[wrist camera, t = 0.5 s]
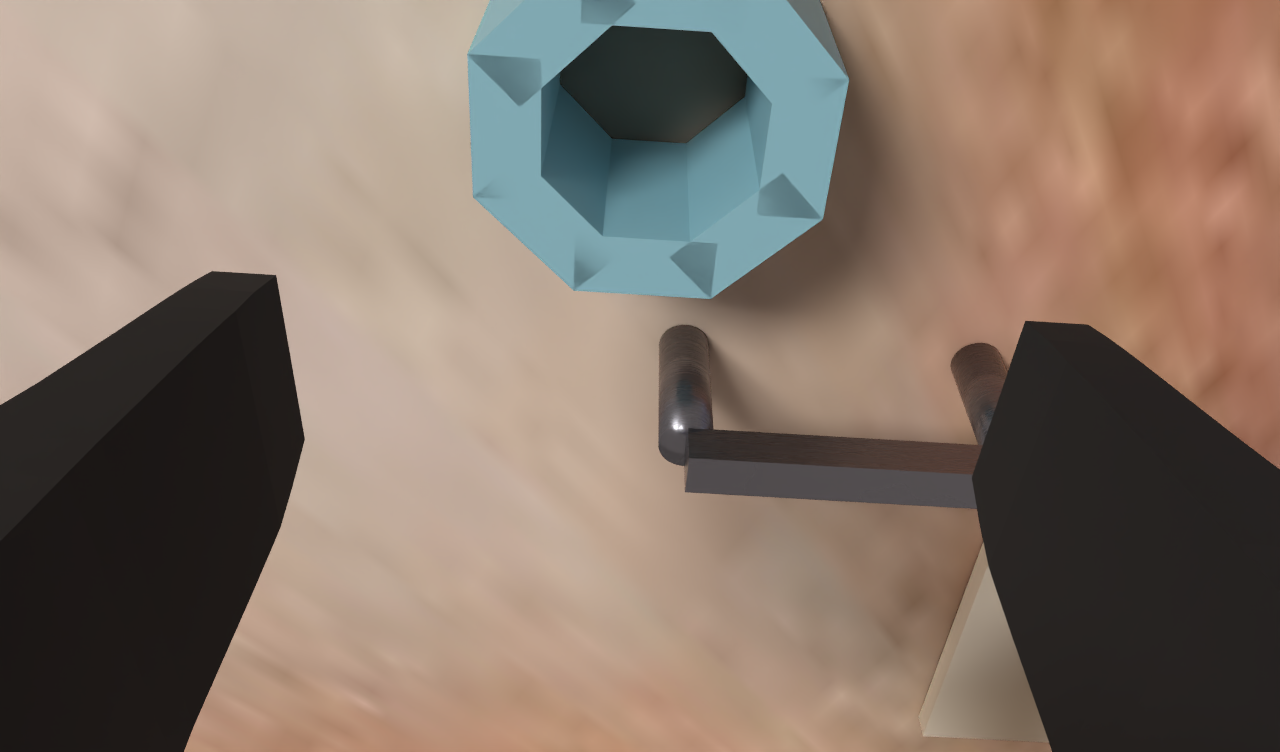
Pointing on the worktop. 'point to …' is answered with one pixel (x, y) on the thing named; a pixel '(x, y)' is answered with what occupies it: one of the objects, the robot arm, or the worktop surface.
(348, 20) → the worktop surface
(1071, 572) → the robot arm
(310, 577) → the worktop surface
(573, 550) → the worktop surface
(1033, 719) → the peg stand
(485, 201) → the ring
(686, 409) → the handle
